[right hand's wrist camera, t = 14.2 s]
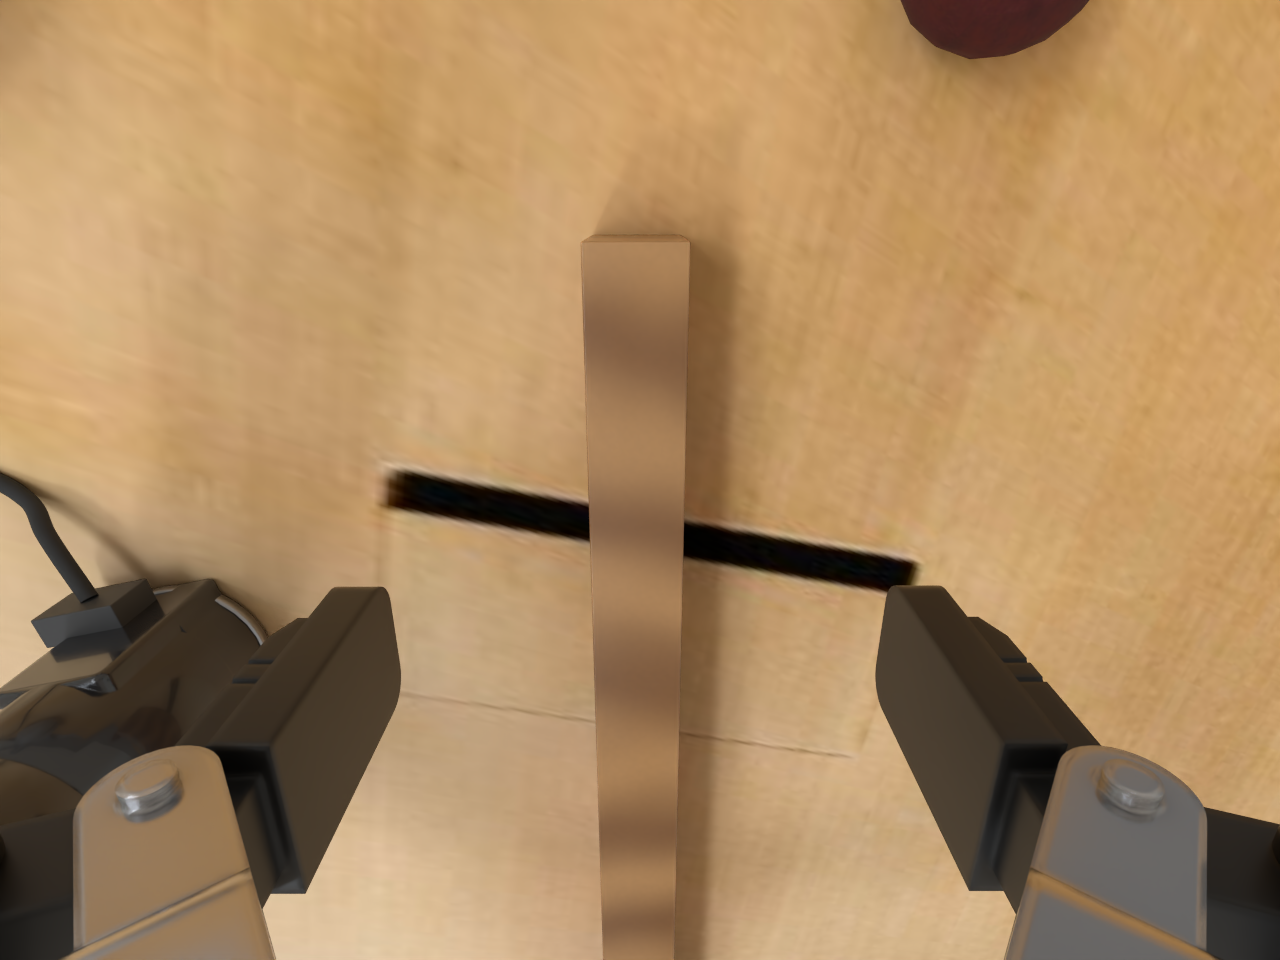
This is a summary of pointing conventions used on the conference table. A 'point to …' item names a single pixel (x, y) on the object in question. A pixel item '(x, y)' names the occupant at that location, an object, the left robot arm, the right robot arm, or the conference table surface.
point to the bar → (636, 571)
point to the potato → (989, 23)
